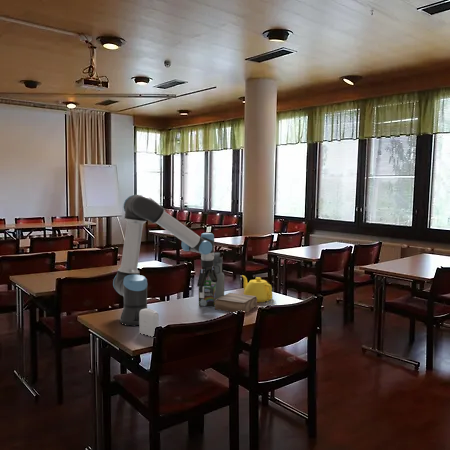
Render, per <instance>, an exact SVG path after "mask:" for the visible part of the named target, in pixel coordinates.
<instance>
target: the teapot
mask: <svg viewBox="0 0 450 450" xmlns="http://www.w3.org/2000/svg"><path fill="white" fill-rule="evenodd" d="M241 277H242V279H243V290H244V291H243V295H251V296H256V297H257V303H266V302H265V301H267V302H269V301H270V300H272V299H273V297H274V296H273V287H272V284H270V283H269V282H268V281H267V280H265V279H262V277H260V276H259V277H257V276H256V277H255V279H250V280H249V282H248V278H247V277H246V275H243V274H242V275H241Z"/></svg>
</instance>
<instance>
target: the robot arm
mask: <svg viewBox="0 0 450 450" xmlns="http://www.w3.org/2000/svg"><path fill="white" fill-rule="evenodd" d="M123 202H124V203H123V211H124V221H126V225H125V226H126V227H125V233H124V241H123V248H122V255H121V261H120V262H121V263H120V267H119V268H118V269H117V271H116V275H115V277H114V278H113V281H112V286H113V288H114V290H115V292H116V293H117V294H119V295H120V296H122V297H123V309H122V311H121V316H120V318H119V319H120V320H119V323H120V322H121V323H123V324H126V325H139V312H140V310H142V309H146V308H148V279H147V278H146V276H144V275H140V270H138V269H139V268H138V265H139V257H140V251H141V250H140V249H141V242H142V236H143V229H144V228H143V227H144V224H145V223H146V222H148V221H149V222H150V223H151V224H157V225H159V227H161V228H163V229H164V230H165V231H167V232H168V233H169V234H171V235H173V236H174V237H175V238H177V239H178V240H180V241H181V249H182V250H183V251H184V252H194V253H199V254H200V256H201V257H200V259H201V260H200V266H201V267H202V269H201V268H200V269H199V275H198V280H197V283H196V285H197V287H198V299H199V298H204V287H203V286H204V283H205V280H207V278H209V277H210V279H211V281H212V282H211V284H215V282H217V275H216V271H215V266H214V260H213V259H214V253H215V234H213V233H212V232H204V233H201V234H200V235H198V234H197V233H196V232H195V231H193V230H192V229H190V228H188V227H187V226H186V225H184V224H183V223H181V222H180V221H179V220H178V219H177V218H175V217H173V216H172V215H171V214H169V213H168V212H167V211H166V210H165V208H164V207H163V206H162V205H160V204H159V203H158V202H156V201H155V200H154V199H152V198H151V197H149V196H148V195H144V194H133V195H129V196H128V197H127V198H126V199H125V200H124V201H123ZM121 323H120V324H121ZM126 325H125V326H126Z"/></svg>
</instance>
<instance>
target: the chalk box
mask: <svg viewBox="0 0 450 450" xmlns="http://www.w3.org/2000/svg"><path fill="white" fill-rule="evenodd" d="M203 287H204V298H199V297H198V307H212V308H215V300H216V284H211V280H209V279H206V280H205V283H204V286H203Z"/></svg>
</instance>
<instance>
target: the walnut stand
mask: <svg viewBox="0 0 450 450" xmlns="http://www.w3.org/2000/svg"><path fill="white" fill-rule="evenodd" d="M256 306H257V307H258V302H257V297H256V296H251V295H244V293H242V294H240V293H235V292H228V293H226V294H224V296H221V297H219V298H217V299H216V300H215V305H214V310H217V311H222V312H224V311H225V312H229V313H235V312H236V311H238V310H242V311H245V312H246V313H248V312H249V310H250V309H251V310H253V309H254V307H255V308H257V307H256ZM252 308H253V309H252ZM251 310H250V311H251ZM247 311H248V312H247Z"/></svg>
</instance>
